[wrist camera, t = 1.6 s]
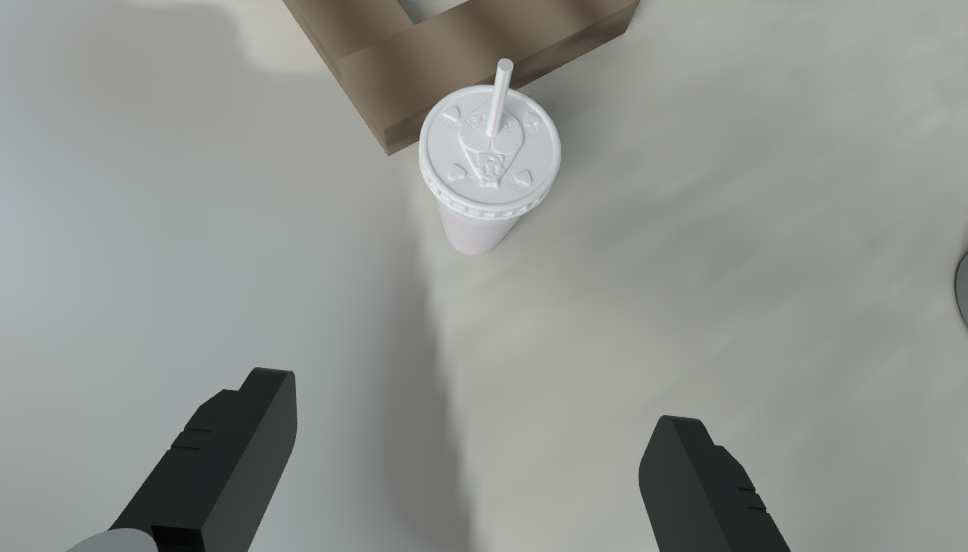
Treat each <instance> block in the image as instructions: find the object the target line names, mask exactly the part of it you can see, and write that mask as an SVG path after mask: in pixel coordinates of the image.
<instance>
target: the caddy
mask: <svg viewBox="0 0 968 552" xmlns="http://www.w3.org/2000/svg"><path fill="white" fill-rule="evenodd" d="M283 2H284V3H285V4H286V6H287V7H288V9H289V10H290V12H291V13H292V15H293V16H294V18H295V19H296V21H297V22H298V24H299V25H300V27H301V28H302V30H303V31H304V32H305V34H306V35H307V37H308V38H309V40H310V41H311V43H312V44H313V46H314V47H315V49H316V50H317V52H318V53H319V55H320V56H321V58H322V59H323V61H324V62H325V63H326V65H327V66H328V68H329V69H330V71H331V72H332V74H333V75H334V77H335V78H336V80H337V81H338V83H339V84H340V86H341V87H342V88H343V90H344V91H345V93H346V94H347V96H348V97H349V99H350V100H351V102H352V103H353V105H354V106H355V108H356V109H357V111H358V112H359V114H360V115H361V116H362V118H363V120H364V121H365V122H366V124H367V125H368V127H369V128H370V130H371V131H372V133H373V134H374V136H375V137H376V139H377V140H378V142H379V143H380V145H381V146H382V148H383V149H384V151H385V152H386V153H387V155H388V156H390V155H392V154H394V153H396V152H397V151H399V150H401V149H403V148H405V147H407V146H409V145H411V144H413V143H415V142H417V141H419V140H420V133H421V129H422V126H423V123H424V121H425V119H426V117H427V115H428V114H429V112H430V111H431V110H432V108H433V107H434V106H435V105H436V104H437V103H438V102H439V101H440V100H442V99H443V98H444V97H446V96H447V95H449V94H451V93H453V92H455V91H457V90H459V89H462V88H466V87H470V86H475V85H494V83H495V78H496V72H497V66H498V62H499V61H500V60H501V59H509V60H510V61H512V63H513V70H512V75H511V79H510V84H509V88H510V89H513V90H516V89H518V88H520V87H522V86H524V85H526V84H528V83H530V82H531V81H533V80H535V79H537V78H539V77H541V76H543V75H545V74H547V73H549V72H551V71H553V70H554V69H556V68H558V67H560V66H562V65H564V64H566V63H568V62H570V61H572V60H574V59H575V58H577V57H579V56H581V55H583V54H585V53H587V52H589V51H591V50H593V49H595V48H597V47H598V46H600V45H602V44H604V43H606V42H608V41H610V40H612V39H614V38H616V37H618V36H620V35H621V34H623V33H625V31H626V29H627V27H628V24H629V22H630V20H631V18H632V16H633V14H634V12H635V10H636V8H637V6H638V4H639V2H640V0H469V1H467V2H464V3H462V4H460V5H458V6H456V7H454V8H451V9H449V10H447V11H445V12H443V13H440V14H438V15H436V16H434V17H432V18H429V19H427V20H425V21H423V22H421V23H418V24H416V25H414V24H413V22H412V21H411V19H410V18H409V17H408V15H407V14H406V13H405V11H404V10H403V9H402V7H401V6H400V5H399V3H398V2H397V0H283Z"/></svg>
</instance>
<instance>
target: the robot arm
mask: <svg viewBox="0 0 968 552" xmlns="http://www.w3.org/2000/svg"><path fill="white" fill-rule="evenodd" d="M956 292H957V299H958V303H959V306H960V309H961V312H962V315H963V317H964V319H965V321H966V323H967V325H968V254H967V255H966V256H965V258H964V259H963V261H962V262H961V264H960V267H959V270H958V273H957V280H956ZM296 433H297V406H296V388H295V375H294V373H293V372H292V371H286V370H277V369H268V368H260V367H256V368H254V369H253V370H252V371H251V372H250V374H249V375H248V377H247V378H246V380H245V381H244V383H243V384H242V386H241V388H240V389H239V391H234V390H226V389H223V390H222V391H221V392H219V393H218V394H216V395H215V396H213V397H212V398H210V399H209V400H208V401H206V402H205V403H203V404H202V405H201V406H200V407H199V408H198V409H197V411H196V412H195V414H194V415H193V416H192V417H191V419H190V420H189V422H188V423H187V424H186V426H185V427H184V431H183V432H181V433H180V434H179V435H178V437H177V438H176V439H175V441H174V442H173V444H172V445H171V449H170V450H167V452H166V453H165V454H164V456H163V457H162V458H161V460H160V462H159V463H158V464H157V465H156V467H155V468H154V469H153V471H152V472H151V474H150V475H149V476H148V478H147V479H146V480H145V482H144V483H143V484H142V486H141V487H140V489H139V490H138V491H137V493H136V494H135V495H134V497H133V498H132V500H131V501H130V502H129V504H128V505H127V506H126V508H125V509H124V511H123V512H122V513H121V515H120V516H119V517H118V519H117V520H116V521H115V522H114V524H113V525H112V526H111V527H110V528H109V529H108V530H107V531H105V532H102V533H99V534H96V535H94V536H92V537H90V538H87V539H85V540H84V541H82V542H80V543H78V544H77V545H75V546H74V547H72V548H71V549H69V550H68V551H66V552H248V549H249V547H250V545H251V543H252V540H253V538H254V536H255V533H256V531H257V529H258V527H259V525H260V522H261V520H262V518H263V515H264V513H265V511H266V509H267V506H268V504H269V502H270V500H271V498H272V495H273V493H274V491H275V489H276V486H277V484H278V482H279V479H280V477H281V475H282V473H283V471H284V468H285V466H286V464H287V462H288V459H289V457H290V455H291V452H292V449H293V446H294V443H295V438H296ZM639 487H640V491H641V495H642V498H643V501H644V504H645V507H646V510H647V513H648V516H649V519H650V522H651V526H652V529H653V532H654V535H655V538H656V541H657V544H658V547H659V550H660V552H791V551H790V549H789V547H788V546H787V544H786V542H785V540H784V538H783V537H782V535H781V533H780V531H779V530H778V528H777V526H776V524H775V523H774V521H773V519H772V517H771V516H770V514H769V513H767V512H766V507H765V505H764V503H763V501H762V500H761V498H760V496H759V494H756V493H755V490H756V489H755V487H754V486H753V484H752V482H751V480H750V479H749V477H748V475H747V473H746V472H745V470H744V468H743V466H742V465H741V464H740V463H739V462H738V461H737V460H736V459H735V458H734V457H733V456H732V455H731V454H730V453H729V452H728V451H727V450H726V449H725V448H724V447H723V446H718V445H714V443H713V441H712V439H711V437H710V435H709V434H708V432H707V430H706V428H705V426H704V424H703V423H702V422H701V421H700V420H699V419H694V418H686V417H677V416H668V415H663V416H662V417H660V419H659V420H658V422H657V425H656V427H655V429H654V432H653V434H652V436H651V439H650V441H649V443H648V446H647V448H646V450H645V453H644V455H643V457H642V460H641V463H640V467H639Z"/></svg>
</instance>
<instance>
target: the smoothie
mask: <svg viewBox="0 0 968 552" xmlns="http://www.w3.org/2000/svg"><path fill="white" fill-rule="evenodd" d="M512 70H513V63H512V61H510V60H509V59H501V60H500V61H499V62H498V66H497V72H496V78H495V83H494V85H475V86H470V87H466V88H462V89H459V90H457V91H455V92H453V93H451V94H449V95H447V96H446V97H444V98H443V99H442V100H440V101H439V102H438V103H437V104H436V105H435V106H434V107H433V108H432V110H431V111H430V112H429V114H428V115H427V117H426V119H425V121H424V123H423V126H422V129H421V133H420V141H419V149H418V151H419V165H420V169H421V172H422V174H423V177H424V180H425V182H426V184H427V185H428V187H429V188H430V189H431V191H432V192H433V193H434V195H435V197H436V201H437V204H438V208H439V212H440V215H441V219H442V222H443V226H444V229H445V233H446V236H447V238H448V240H449V242H450V243H451V244H452V246H453V247H454V248H456V249H457V250H459V251H460V252H462V253H465V254H468V255H482V254H485V253H488V252H490V251H491V250H493V249H494V248H495V247H496V246H497V245H498V244H499V243H500V241H501V240H502V239H503V238H504V236H505V235H506V234H507V233H508V232H509V230H510V229H511V228H512V227H513V225H514V224H515V223H516V222H517V221H518V219H519V218H520V217H521V216H522V214H525V213H526V212H528V211H529V210H531V209H532V208H534V207H535V206H537V205H538V204H539V203H540V202H541V201H542V200H543V199H544V198H545V196H546V195H547V194H548V193H549V192H550V190H551V188H552V185H553V183H554V181H555V179H556V176H557V172H558V170H559V166H560V162H561V143H560V138H559V134H558V131H557V129H556V127H555V125H554V123H553V121H552V119H551V118H550V116H549V115H548V114H547V113H546V111H545V110H544V109H543V108H542V107H541V106H540V105H539V104H537V103H536V102H535V101H534V100H532V99H531V98H529V97H528V96H526V95H524V94H522V93H520V92H518V91H516V90H513V89H510V88H509V84H510V79H511V75H512Z"/></svg>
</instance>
